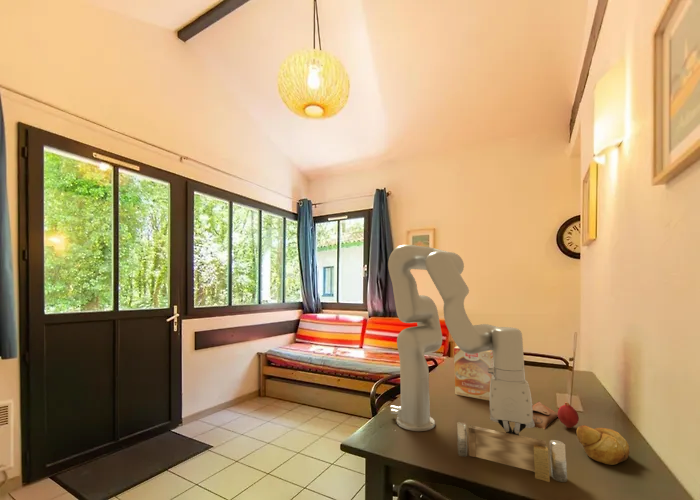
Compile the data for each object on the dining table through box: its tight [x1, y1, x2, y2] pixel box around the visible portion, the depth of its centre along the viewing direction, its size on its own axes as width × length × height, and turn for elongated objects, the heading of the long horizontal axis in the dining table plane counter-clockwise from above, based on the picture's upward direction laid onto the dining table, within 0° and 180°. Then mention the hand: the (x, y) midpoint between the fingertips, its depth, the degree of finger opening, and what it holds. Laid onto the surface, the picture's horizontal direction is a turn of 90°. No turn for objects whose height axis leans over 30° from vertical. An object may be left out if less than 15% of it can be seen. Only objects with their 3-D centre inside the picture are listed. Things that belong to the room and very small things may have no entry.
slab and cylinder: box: [534, 439, 568, 483], centre depth 81 cm, size 7×5×8 cm
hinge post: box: [456, 421, 468, 458], centre depth 92 cm, size 2×2×8 cm
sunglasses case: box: [532, 400, 558, 430], centre depth 116 cm, size 18×7×7 cm
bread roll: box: [576, 424, 630, 466], centre depth 90 cm, size 13×10×8 cm
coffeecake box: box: [453, 345, 494, 402], centre depth 141 cm, size 15×7×20 cm, turn 56°
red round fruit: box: [557, 401, 580, 429], centre depth 109 cm, size 6×6×8 cm
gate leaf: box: [468, 424, 547, 473], centre depth 86 cm, size 18×2×7 cm, turn 59°
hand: (513, 446), depth 88 cm, fingers closed
